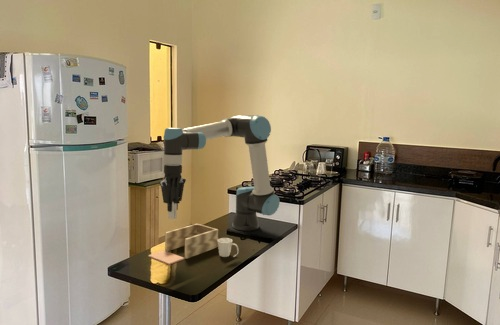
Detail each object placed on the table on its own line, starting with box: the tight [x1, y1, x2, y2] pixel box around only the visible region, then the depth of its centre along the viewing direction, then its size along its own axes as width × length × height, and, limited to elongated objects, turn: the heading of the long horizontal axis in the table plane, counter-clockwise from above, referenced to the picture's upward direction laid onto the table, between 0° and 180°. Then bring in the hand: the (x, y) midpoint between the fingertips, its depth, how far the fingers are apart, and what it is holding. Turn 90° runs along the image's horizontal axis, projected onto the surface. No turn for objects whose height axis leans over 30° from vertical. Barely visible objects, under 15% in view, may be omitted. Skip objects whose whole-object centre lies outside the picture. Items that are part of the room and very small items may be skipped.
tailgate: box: [147, 249, 186, 266], centre depth 166 cm, size 1×14×9 cm
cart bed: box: [164, 223, 219, 260], centre depth 178 cm, size 20×14×10 cm
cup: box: [217, 237, 239, 258], centre depth 171 cm, size 7×10×8 cm
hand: (172, 218), depth 167 cm, fingers closed
